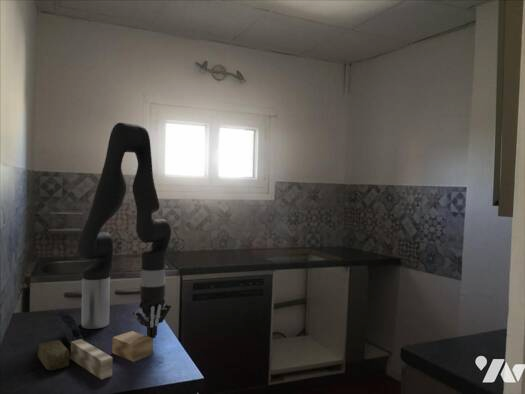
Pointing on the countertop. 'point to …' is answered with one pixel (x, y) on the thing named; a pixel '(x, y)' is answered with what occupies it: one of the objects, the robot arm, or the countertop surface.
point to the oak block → (132, 346)
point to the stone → (68, 326)
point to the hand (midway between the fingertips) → (151, 337)
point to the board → (91, 359)
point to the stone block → (53, 355)
